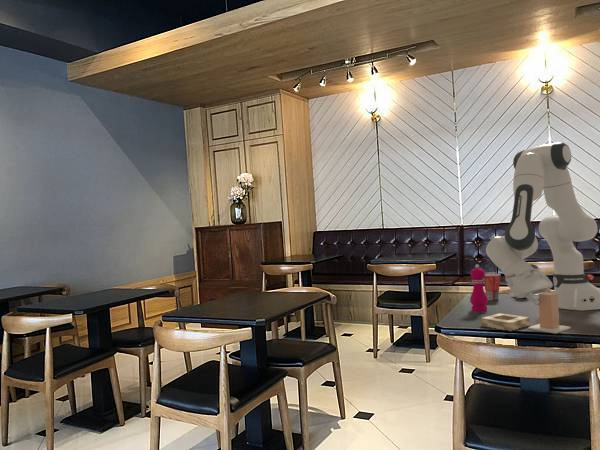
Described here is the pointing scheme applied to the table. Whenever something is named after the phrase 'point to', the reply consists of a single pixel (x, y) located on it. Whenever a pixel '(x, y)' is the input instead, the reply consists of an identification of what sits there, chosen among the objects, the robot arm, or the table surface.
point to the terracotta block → (549, 310)
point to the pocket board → (505, 321)
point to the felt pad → (555, 330)
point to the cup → (492, 285)
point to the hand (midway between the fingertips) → (546, 302)
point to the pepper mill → (478, 290)
